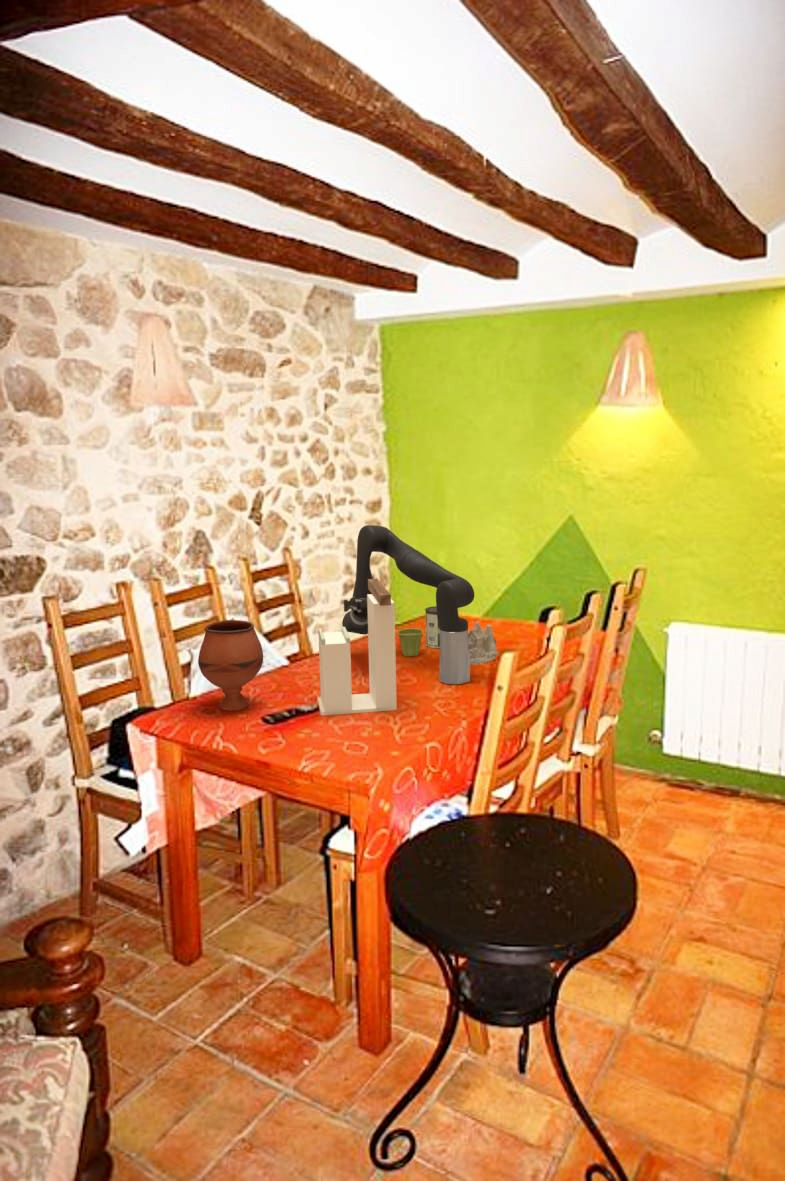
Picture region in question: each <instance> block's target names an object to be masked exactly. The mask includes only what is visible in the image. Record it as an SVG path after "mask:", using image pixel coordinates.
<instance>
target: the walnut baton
mask: <svg viewBox="0 0 785 1181" xmlns="http://www.w3.org/2000/svg"><path fill="white" fill-rule="evenodd" d="M368 589H369V591H370V592H371V593H372V595H373V596H374V598H375V599H376V600H377V602H378V603H379V605H380V606H386V605H391V599H392V597H391V596H392V594H391V593H390V592H389V591H388V589H387V588H386V587H385V586H384V585H383V583H382V582H381V581H380V580H379V579H378V578H373V579H368Z"/></svg>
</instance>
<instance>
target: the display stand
mask: <svg viewBox="0 0 785 1181" xmlns="http://www.w3.org/2000/svg"><path fill="white" fill-rule="evenodd" d="M395 606H396V605H395V602H394V600H393V599H392V598H391V605H386V606H380V605H379V603H378V602H377V600H376V599H375V598H374V596H373V595H372V594H367V608H368V634H367V636H368V638H367V640H368V641H367V642H368V645H367V647H368V675H369V676H368V678H369V679H368V680H369V681H368V682H369V684H368V685H369V693H356V694H354V693H353V694H352V690H353V689H352V688H353V687H352V664H351V663H352V662H351V661H352V660H351V637H350V635H349V632H347V630H346V628H345V627H343V626H341V631H330V632H323V628H321V627H319V628H317V629H318V630H317V632H318V633H317V634H318V635H317V636H318V656H319V658H318V659H319V661H318V662H319V679H320V680H319V682H320V696H317V703H318V708H319V712H320V713H319V714H320V716H333V715H346V714H347V715H350V714H360V713H361V714H362V713H377V712H388V711H389V712H390V711H397V662H396V614H395V612H396V611H395V609H396V608H395Z"/></svg>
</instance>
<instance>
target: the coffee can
mask: <svg viewBox="0 0 785 1181" xmlns="http://www.w3.org/2000/svg"><path fill="white" fill-rule="evenodd" d="M424 611H425V646H426V647H427V646H428V648H432V649H440V629H439V622H438V619H437V608H436V605H435V606H429V607H426V608H425V609H424Z"/></svg>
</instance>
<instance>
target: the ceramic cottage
mask: <svg viewBox="0 0 785 1181" xmlns="http://www.w3.org/2000/svg"><path fill="white" fill-rule="evenodd" d="M496 643H498V641H497V640H496V639H495V636H494V632H493V626H492V625H491V624H487V625H486V629H485V630H484V629H482V627H481V624H480V622H478V621H475V623H474V627H473V628H472V629H470V631H469V632H468V652H469V653H470V665H481V664H480V663H485V664H488V663H487V662H489V661H492V660H494V659H495V658H496V657H497V655H498V654H499V653H500V652H499V651H498V650H497V647H498V646H497V644H496ZM499 655H500V654H499ZM492 662H493V661H492ZM489 663H490V662H489Z"/></svg>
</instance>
